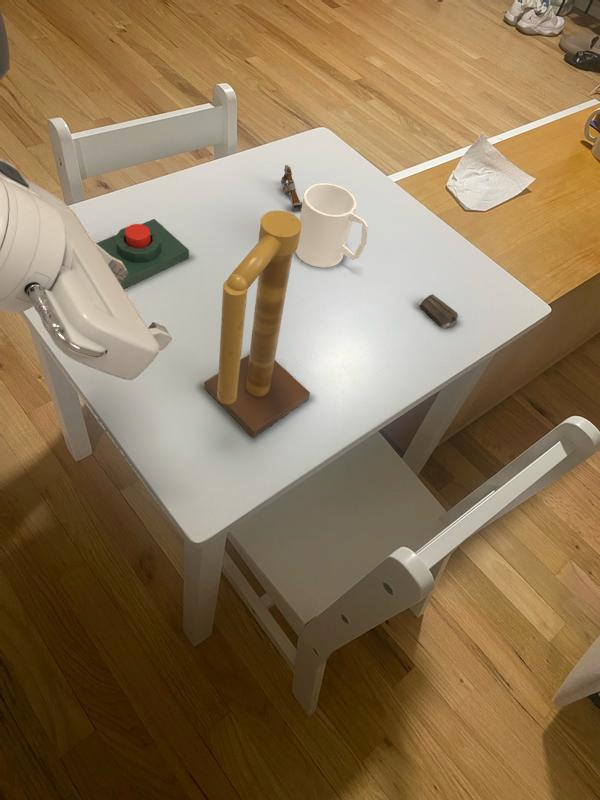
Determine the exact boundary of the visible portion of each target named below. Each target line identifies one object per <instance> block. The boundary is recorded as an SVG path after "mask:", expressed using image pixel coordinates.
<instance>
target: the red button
mask: <svg viewBox="0 0 600 800" xmlns="http://www.w3.org/2000/svg"><path fill="white" fill-rule="evenodd" d="M142 224H143V223H133V224H130V225H128V226H126V227H127V228H126V230H125V236H126V242H127V244H128V245H129V246H130V247H133V248H144V247H147V246H148V245H149V244H150V242H151V238H150V230H149V228H148V227H147V226H145V225H142Z"/></svg>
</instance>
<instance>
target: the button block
mask: <svg viewBox="0 0 600 800" xmlns="http://www.w3.org/2000/svg"><path fill="white" fill-rule="evenodd" d="M141 224H142V225H145V226H147V227H148V228H149V230H150V238H151V242H150V244H149V245H148V246H147V247H144V248H133V247H130V246H129V245H128V244H127V242H126V236H125V230H126V228H127V227H128V226H126V227H123V228H121V229H120V230H119V231H118V232H117V234H115V235H112V236H110V237H108V238H105V239H102V240H101V241H98V242H95V243H96V244H97V245H99V246H100V247H101V248H102V249H103V250H105V251H106V252H107V253H108V254H109V255H110V256H112V257H114V258H116V259H118V260H120V261H122V263H123V264H124V266H125V267H126V269H127V271H128V275H127V277H124V280H123V281H122V282H121V283H120V285H121V286H122V288H123V289H124V290H125V289H127V288H129V287H132V286H134V285H135V284H137V283H140V282H142V281H144V280H146V279H148V278H150V277H152V276H154V275H156V274H158V273H161V272H163V271H165V270H167V269H169V268H171V267H173V266H176V265H177V264H180V263H181V262H184V261H187V260H188V259H189V258H190V249H189V248H188V247H186V245H184V244H183V243H182V242H181V241H180V240H179V239H177V238H176V236H174V235H173V234H172V233H171V232H169V230H167V229H166V228H165V227H164V226H163V225H162V224H161V223H160V222H158V221H157V220H156V219H155V218H153V219H150V220H148V221H145V222H143V223H141Z"/></svg>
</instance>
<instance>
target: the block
mask: <svg viewBox="0 0 600 800" xmlns="http://www.w3.org/2000/svg"><path fill="white" fill-rule="evenodd" d="M419 307H420V308H422V310H423V311H424V312H425V313H426V314H427V315H428V316H429V317H430V318H431V319H432V320H433V321H434V322H435V323H436V324H437V325H438V326H439V327H440V328H442V329H443V328H444V329H447V328H451V327H453V326H454V325H455V324H456V323H457V321H458V318H459V315H458V314H459V313H458V312H457V311H456V310H454V309H453V308H452V307H450V306H449V305H448V304H447V303H445V302H444V301H443V300H442V299H440V298H439V297H437V296H436V295H435V294H434V293H431V294H429V295H428V296H427V297H425V298H424V299H423V300H422V302H421V303H420V304H419Z"/></svg>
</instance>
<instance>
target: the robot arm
mask: <svg viewBox="0 0 600 800" xmlns="http://www.w3.org/2000/svg"><path fill="white" fill-rule="evenodd" d="M5 24H6V23H5V21H4V17H3V13H2V9H0V81H1V80H2V79H3V78H4V76H5V75H6V74H7V73H8V71H9V70H10V68H11V67H10V66H11V65H10V64H11V63H10V62H11V61H10V47H9V39H8V33H7V29H6V25H5ZM96 243H97V242H95V241H94V240H93V239H92V238H91V236H90V234H89V233H88V232H87V230H86V228H85V227H84V225H83V224H82V222H81V220H80V219H79V217H78V216H77V214H76V212H75V211H74V210H73V209H72V208H70V206H68V205H67V204H66V203H65V202H64V201H63V200H62V199H60V198H59V197H57V196H56V195H53V194H52V193H51V192H50V191H48V190H46V189H45V188H43V187H41V186H39V184H36V183H34V182H33V181H31V180H30V179H28V178H26V177H24V176H22V175H21V173H20V172H19V170H18V169H17V167H16V166H14V165H13V164H12V163H10V162H9V161H7V160H5V159H3V158H1V157H0V311H3V312H6V313H11V314H18V313H23V312H25V311H27V310H29V309H32V308H34V310H35V311H36V312H37V314H38V316H39V318H40V319H41V323H42V325H43V327H44V329H45V331H46V332H47V333H48V335H49V337H50V339H51V340H52V342H53V343H54V345H55V346H56V347H57V348H58V349H59V350H60V352H62V353H63V354H64V355H65V356H67V357H68V358H70V359H71V360H74V361H76V362H78V363H79V364H82V365H84V366H87V367H90V368H92V369H94V370H96V371H100V372H102V373H105V374H108V375H110V376H113V377H116V378H120V379H123V380H126V381H132V380H135V379H137V378H138V377H139V376H140V375H142V374H143V373H144V372H145V371H146V370H147V369H148V368H149V366H150V365H151V364H152V363H153V361H154V360H155V359H156V357H157V356H158V355H159V354H160V352H161V351H163V350H164V349H166V348H167V347H168V345H169V344H170V343H171V342H172V341H173V337H172V336H171V334H170V333H169V331H168V329H167V328H166V327H165V325H161V324H160V323H157V322H154V321H153V322H152V323H151V324H150V325H149V326H148V325H147V323H146V322H145V321H144V319H143V317H142V316H141V314H140V313H139V311H138V310H137V308H136V306H135V305H134V304H133V302H132V300H131V299H130V297H129V295H128V294H127V293H126V291H125V289H123V288H122V286H121V285H120V283H121V282H122V281H123V280H124V277H127V275H128V271H127V269H126V267H125V266H124V264H123V263H122V261H120V260H118V259H116V258H114V257H112V256H110V255H109V254H108V253H107V252H106V251H105V250H103V249H102V248H101V247H100V246H99V245H97V244H96Z"/></svg>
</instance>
